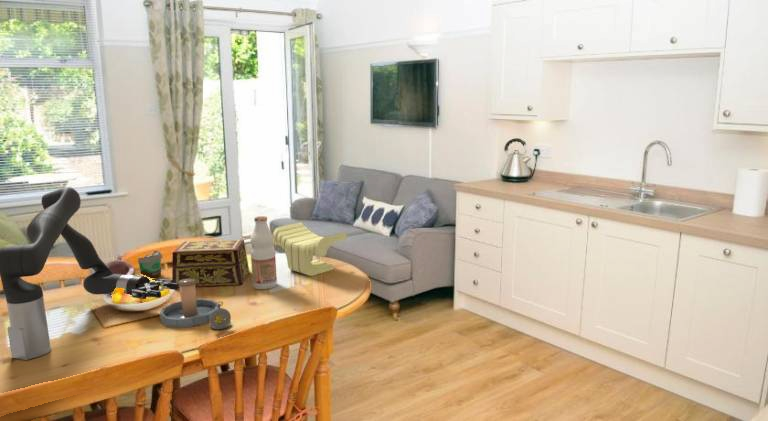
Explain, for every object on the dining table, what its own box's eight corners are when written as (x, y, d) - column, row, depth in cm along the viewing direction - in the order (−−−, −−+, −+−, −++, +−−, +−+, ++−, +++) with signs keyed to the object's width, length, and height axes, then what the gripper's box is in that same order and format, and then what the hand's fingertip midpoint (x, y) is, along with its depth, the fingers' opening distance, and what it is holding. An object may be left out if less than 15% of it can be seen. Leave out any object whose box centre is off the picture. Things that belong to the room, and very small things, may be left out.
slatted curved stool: (274, 267, 252) (272, 228, 248) (302, 259, 263) (301, 222, 260) (318, 281, 232) (317, 239, 228) (347, 272, 243) (346, 232, 239)
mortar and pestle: (113, 294, 221) (110, 266, 219) (98, 288, 229) (94, 261, 226) (142, 286, 231) (139, 258, 228) (126, 280, 238) (123, 254, 236)
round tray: (194, 330, 186) (194, 322, 185) (148, 323, 193) (147, 315, 192) (230, 309, 203) (229, 302, 203) (186, 303, 210) (186, 296, 210)
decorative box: (171, 289, 227) (168, 252, 224) (184, 274, 245) (181, 240, 242) (242, 286, 229) (239, 250, 226) (249, 272, 247) (247, 238, 244)
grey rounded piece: (223, 320, 193) (221, 292, 191) (238, 326, 188) (236, 298, 186) (202, 328, 187) (199, 299, 185) (217, 335, 182) (214, 305, 180)
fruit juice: (248, 288, 226) (243, 218, 220) (262, 280, 234) (257, 214, 229) (268, 290, 222) (263, 220, 217) (281, 283, 231) (277, 215, 225)
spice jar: (191, 317, 194) (188, 284, 192) (178, 315, 196) (175, 282, 194) (201, 312, 199) (198, 279, 197) (189, 310, 201) (186, 277, 199)
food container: (153, 282, 235) (150, 258, 233) (139, 281, 237) (137, 258, 235) (170, 273, 247) (167, 250, 245) (157, 272, 248) (154, 250, 246)
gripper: (116, 281, 198) (153, 286, 192) (147, 270, 211) (182, 274, 205) (118, 302, 199) (155, 308, 193) (149, 289, 212) (184, 294, 206)
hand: (169, 290), depth 199 cm, fingers open, 8 cm apart
